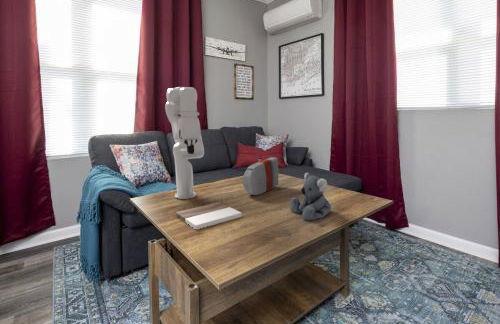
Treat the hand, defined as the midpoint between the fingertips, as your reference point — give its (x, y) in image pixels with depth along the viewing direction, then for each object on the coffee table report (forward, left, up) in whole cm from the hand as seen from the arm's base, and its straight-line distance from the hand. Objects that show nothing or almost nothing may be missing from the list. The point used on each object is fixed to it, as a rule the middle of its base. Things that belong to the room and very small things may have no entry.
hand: (190, 153), depth 139 cm
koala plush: (+40, +43, -29) cm, 66 cm away
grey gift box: (-4, +48, -29) cm, 56 cm away
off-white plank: (+16, +2, -29) cm, 34 cm away
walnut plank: (+6, +2, -29) cm, 30 cm away
